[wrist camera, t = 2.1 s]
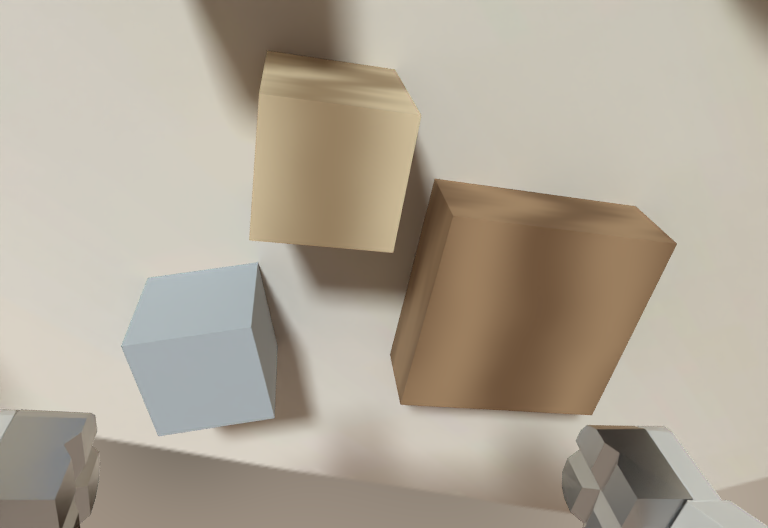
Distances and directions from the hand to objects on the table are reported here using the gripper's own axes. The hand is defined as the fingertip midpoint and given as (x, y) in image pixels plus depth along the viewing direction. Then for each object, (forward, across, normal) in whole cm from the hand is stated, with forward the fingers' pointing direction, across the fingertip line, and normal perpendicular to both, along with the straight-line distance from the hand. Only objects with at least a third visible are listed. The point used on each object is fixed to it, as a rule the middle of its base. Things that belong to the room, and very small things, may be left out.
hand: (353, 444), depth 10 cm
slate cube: (+17, +4, +10) cm, 20 cm away
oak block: (+17, 0, 0) cm, 17 cm away
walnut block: (+17, -10, +7) cm, 21 cm away
